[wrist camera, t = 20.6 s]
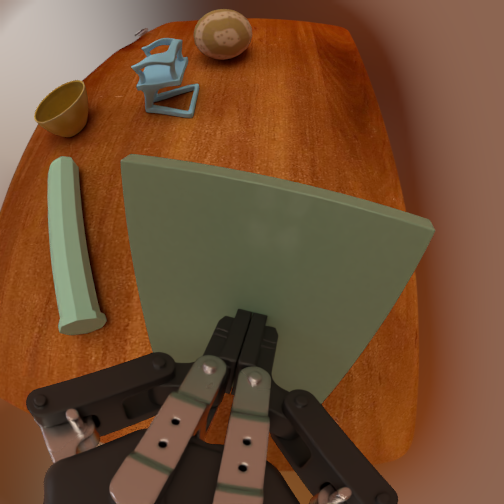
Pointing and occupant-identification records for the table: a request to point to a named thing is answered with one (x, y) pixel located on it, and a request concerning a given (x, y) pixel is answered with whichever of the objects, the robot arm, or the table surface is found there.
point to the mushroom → (222, 34)
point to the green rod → (70, 252)
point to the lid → (265, 263)
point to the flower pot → (64, 109)
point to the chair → (164, 77)
